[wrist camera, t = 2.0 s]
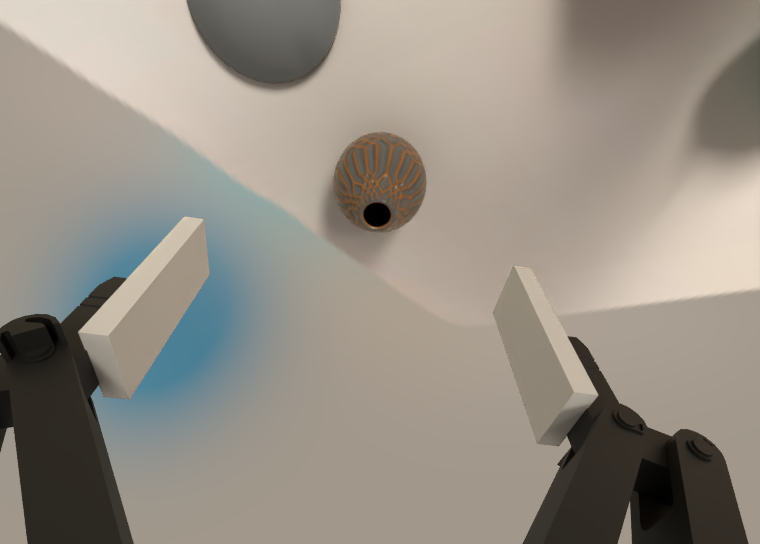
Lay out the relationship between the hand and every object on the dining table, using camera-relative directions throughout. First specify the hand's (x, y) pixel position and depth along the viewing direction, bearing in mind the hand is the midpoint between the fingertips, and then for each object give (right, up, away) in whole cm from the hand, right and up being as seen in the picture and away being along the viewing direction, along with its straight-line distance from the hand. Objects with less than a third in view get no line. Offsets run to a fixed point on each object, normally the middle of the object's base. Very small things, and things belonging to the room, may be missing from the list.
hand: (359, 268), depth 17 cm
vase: (+1, +9, +16) cm, 18 cm away
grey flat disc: (-7, +18, +9) cm, 21 cm away
